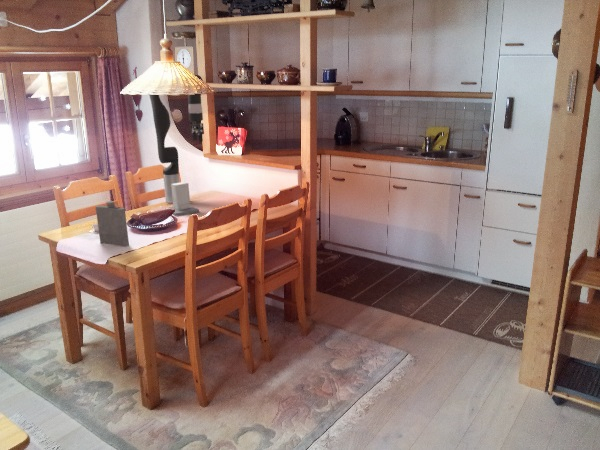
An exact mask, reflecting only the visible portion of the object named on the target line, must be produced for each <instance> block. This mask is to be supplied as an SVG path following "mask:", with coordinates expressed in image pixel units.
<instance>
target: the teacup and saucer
mask: <svg viewBox="0 0 600 450" xmlns="http://www.w3.org/2000/svg"><path fill="white" fill-rule="evenodd" d="M91 228H92V229H90V230H89V231H88V232H89V233H91V234H99V229H98V222H96V223H92V224H91ZM93 231H94V232H93Z"/></svg>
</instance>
